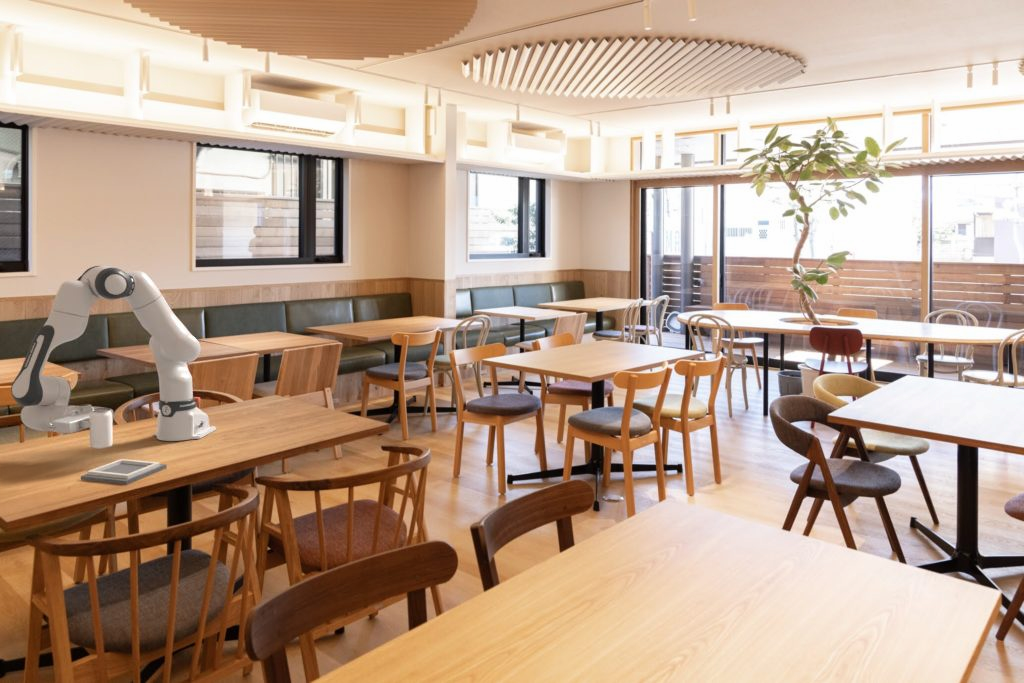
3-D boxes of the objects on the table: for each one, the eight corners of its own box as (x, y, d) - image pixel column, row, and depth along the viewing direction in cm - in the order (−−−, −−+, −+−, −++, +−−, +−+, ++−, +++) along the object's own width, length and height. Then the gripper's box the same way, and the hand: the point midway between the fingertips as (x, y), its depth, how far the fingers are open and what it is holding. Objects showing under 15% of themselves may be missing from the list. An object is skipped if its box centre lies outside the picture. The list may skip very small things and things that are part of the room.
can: (104, 449, 251) (103, 412, 250) (85, 448, 252) (84, 411, 250) (117, 444, 258) (116, 408, 256) (98, 442, 259) (97, 406, 257)
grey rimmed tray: (123, 463, 257) (123, 457, 256) (166, 468, 253) (166, 461, 252) (80, 479, 239) (80, 472, 239) (126, 484, 235) (125, 477, 235)
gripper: (41, 417, 247) (79, 420, 244) (91, 403, 267) (126, 405, 263) (43, 436, 248) (80, 440, 245) (92, 421, 268) (127, 424, 264)
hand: (104, 422), depth 254 cm, fingers closed on can, 4 cm apart
